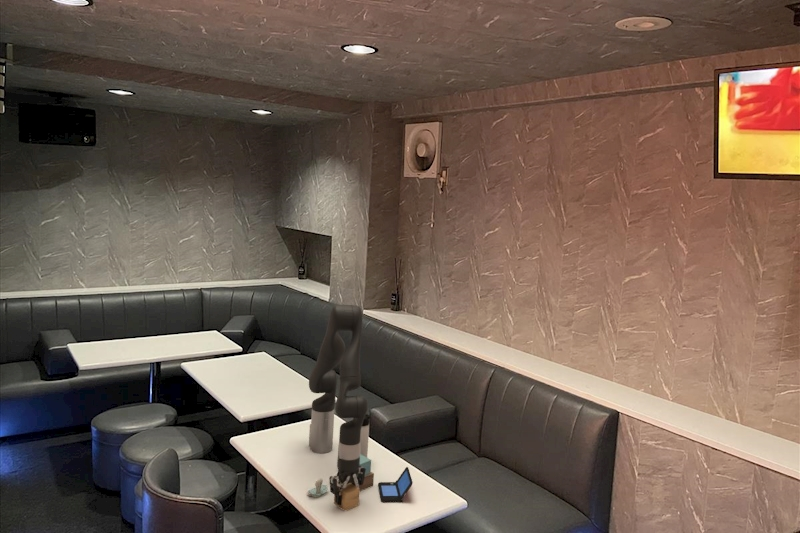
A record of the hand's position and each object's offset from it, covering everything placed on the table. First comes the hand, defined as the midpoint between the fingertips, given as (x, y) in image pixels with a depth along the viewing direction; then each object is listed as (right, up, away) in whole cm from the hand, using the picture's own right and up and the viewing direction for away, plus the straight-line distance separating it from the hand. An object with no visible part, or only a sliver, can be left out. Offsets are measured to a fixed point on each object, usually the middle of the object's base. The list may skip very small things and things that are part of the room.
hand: (346, 500), depth 190 cm
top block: (+2, +5, +13) cm, 14 cm away
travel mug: (+2, +2, +30) cm, 30 cm away
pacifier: (-11, 0, +6) cm, 13 cm away
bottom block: (+2, 0, +14) cm, 14 cm away
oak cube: (0, -1, 0) cm, 1 cm away
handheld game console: (+16, -2, +10) cm, 19 cm away
